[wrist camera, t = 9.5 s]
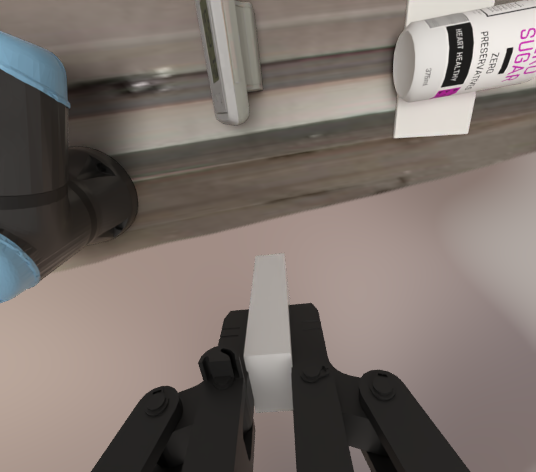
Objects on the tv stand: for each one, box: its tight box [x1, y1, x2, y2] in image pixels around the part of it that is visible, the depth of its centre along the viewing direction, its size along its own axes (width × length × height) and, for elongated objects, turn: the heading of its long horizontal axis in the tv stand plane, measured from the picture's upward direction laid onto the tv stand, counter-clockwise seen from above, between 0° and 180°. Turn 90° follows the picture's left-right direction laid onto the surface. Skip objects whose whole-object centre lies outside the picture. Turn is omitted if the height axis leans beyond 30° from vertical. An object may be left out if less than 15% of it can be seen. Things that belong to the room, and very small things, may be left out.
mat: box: [393, 0, 495, 138], centre depth 38 cm, size 10×16×1 cm, turn 4°
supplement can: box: [393, 0, 536, 103], centre depth 34 cm, size 8×8×15 cm
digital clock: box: [195, 0, 263, 125], centre depth 34 cm, size 16×9×11 cm, turn 175°
